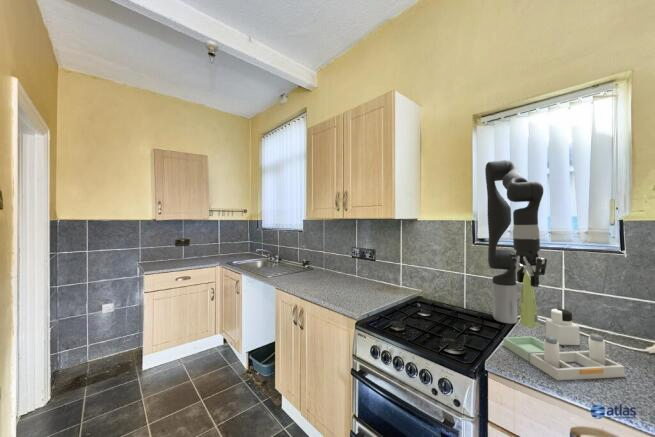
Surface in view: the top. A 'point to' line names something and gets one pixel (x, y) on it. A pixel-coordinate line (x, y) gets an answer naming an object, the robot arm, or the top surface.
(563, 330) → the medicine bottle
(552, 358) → the bottle
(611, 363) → the holder
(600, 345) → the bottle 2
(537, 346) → the tray
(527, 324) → the tube
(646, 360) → the top surface
